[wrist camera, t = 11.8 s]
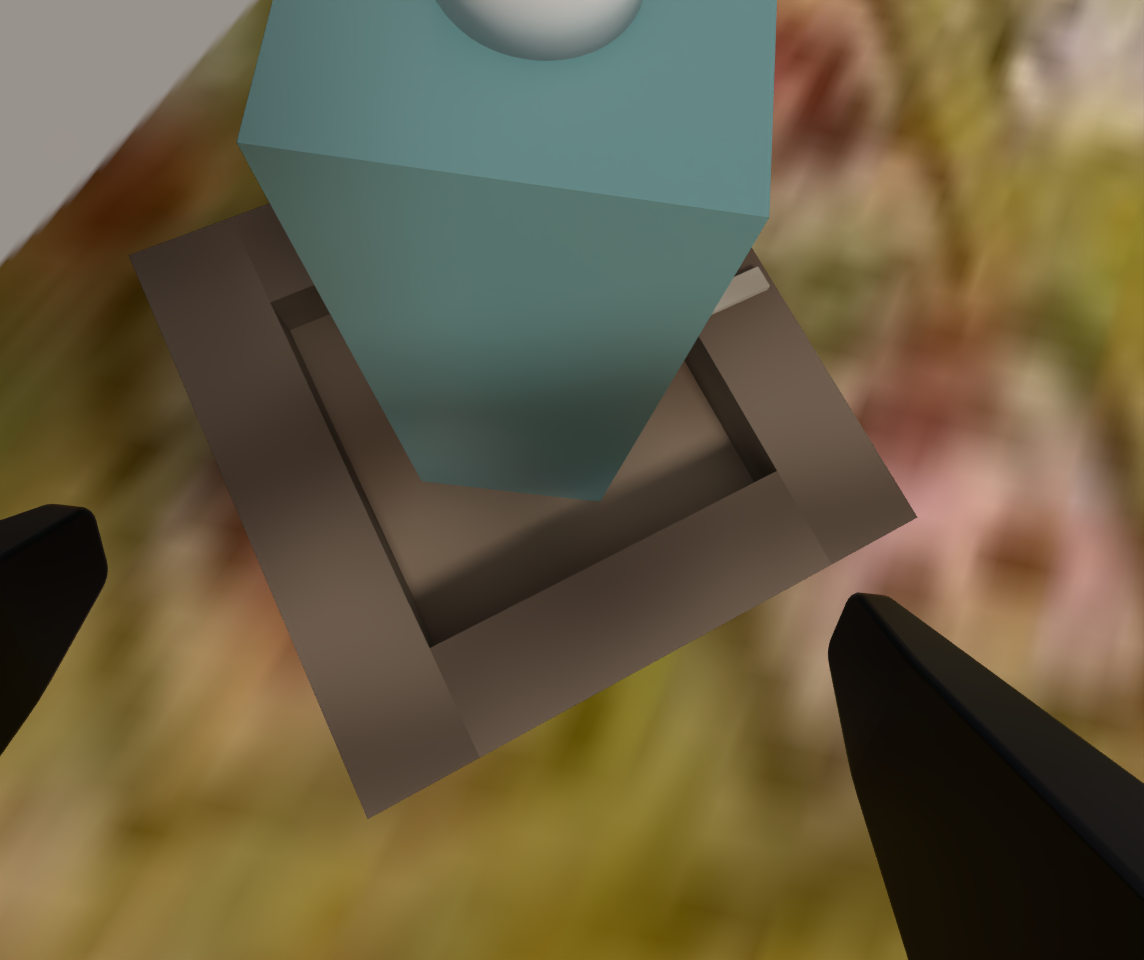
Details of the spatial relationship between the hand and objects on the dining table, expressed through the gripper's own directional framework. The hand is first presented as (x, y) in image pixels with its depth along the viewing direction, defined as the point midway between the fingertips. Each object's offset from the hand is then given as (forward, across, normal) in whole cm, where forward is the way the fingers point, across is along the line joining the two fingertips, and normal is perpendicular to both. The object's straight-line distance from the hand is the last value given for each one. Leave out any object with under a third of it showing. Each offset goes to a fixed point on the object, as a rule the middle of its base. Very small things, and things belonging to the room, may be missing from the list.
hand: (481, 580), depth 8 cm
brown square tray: (+11, 0, +3) cm, 11 cm away
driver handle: (+10, 0, +2) cm, 10 cm away
